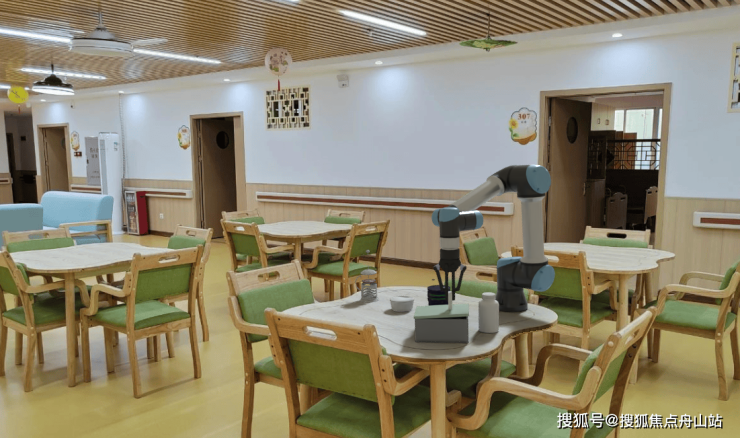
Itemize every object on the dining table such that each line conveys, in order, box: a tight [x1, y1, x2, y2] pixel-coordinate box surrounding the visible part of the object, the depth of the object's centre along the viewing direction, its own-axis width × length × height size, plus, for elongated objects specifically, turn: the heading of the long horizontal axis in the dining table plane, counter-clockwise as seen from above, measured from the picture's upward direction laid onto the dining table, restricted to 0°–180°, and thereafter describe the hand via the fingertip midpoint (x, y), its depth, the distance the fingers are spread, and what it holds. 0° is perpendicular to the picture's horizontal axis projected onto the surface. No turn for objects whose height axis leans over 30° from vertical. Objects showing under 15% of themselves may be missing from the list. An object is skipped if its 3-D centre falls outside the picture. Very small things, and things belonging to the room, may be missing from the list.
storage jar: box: [426, 278, 451, 306], centre depth 246 cm, size 10×10×18 cm
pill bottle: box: [477, 291, 500, 334], centre depth 232 cm, size 8×8×15 cm
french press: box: [354, 249, 380, 303], centre depth 288 cm, size 10×12×25 cm
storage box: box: [414, 316, 470, 344], centre depth 227 cm, size 20×14×9 cm
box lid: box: [413, 303, 470, 320], centre depth 226 cm, size 21×15×1 cm
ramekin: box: [389, 295, 415, 313], centre depth 269 cm, size 11×11×5 cm
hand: (450, 308), depth 225 cm, fingers closed
